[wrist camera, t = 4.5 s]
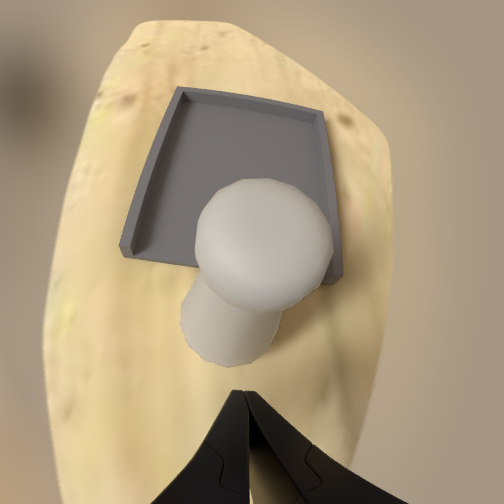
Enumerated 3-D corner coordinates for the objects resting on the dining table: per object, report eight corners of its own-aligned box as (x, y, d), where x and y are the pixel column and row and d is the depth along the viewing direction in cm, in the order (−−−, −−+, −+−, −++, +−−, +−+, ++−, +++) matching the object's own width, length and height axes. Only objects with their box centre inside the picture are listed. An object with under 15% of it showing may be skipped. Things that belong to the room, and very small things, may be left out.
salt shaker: (243, 385, 18) (326, 365, 7) (165, 342, 19) (124, 253, 7) (281, 311, 21) (381, 202, 10) (209, 271, 22) (233, 125, 10)
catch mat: (333, 284, 23) (343, 275, 21) (123, 257, 21) (118, 245, 19) (317, 123, 32) (323, 111, 30) (176, 99, 29) (177, 86, 28)
